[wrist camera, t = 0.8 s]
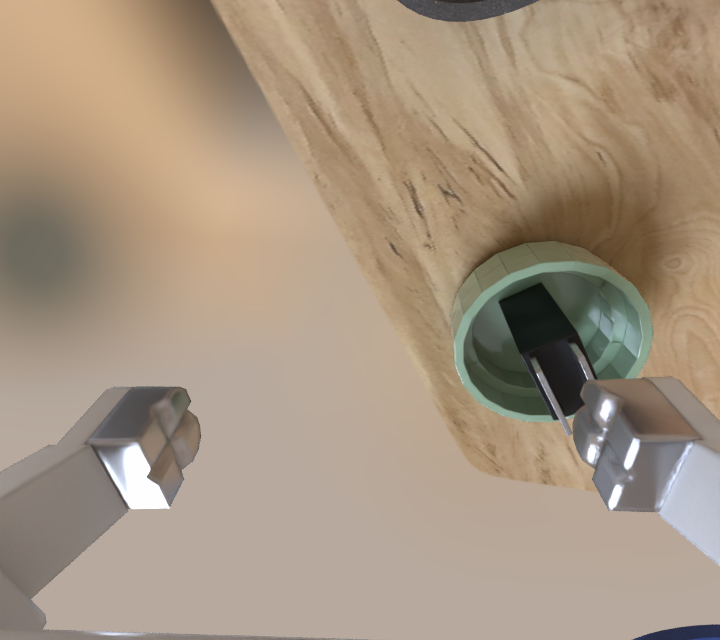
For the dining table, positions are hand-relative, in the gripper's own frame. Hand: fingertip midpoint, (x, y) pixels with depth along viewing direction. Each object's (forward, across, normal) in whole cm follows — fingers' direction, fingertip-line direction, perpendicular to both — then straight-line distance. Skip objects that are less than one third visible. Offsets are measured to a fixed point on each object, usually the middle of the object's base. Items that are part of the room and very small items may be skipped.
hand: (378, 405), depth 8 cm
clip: (+18, +10, -9) cm, 23 cm away
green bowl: (+19, +10, -9) cm, 23 cm away
